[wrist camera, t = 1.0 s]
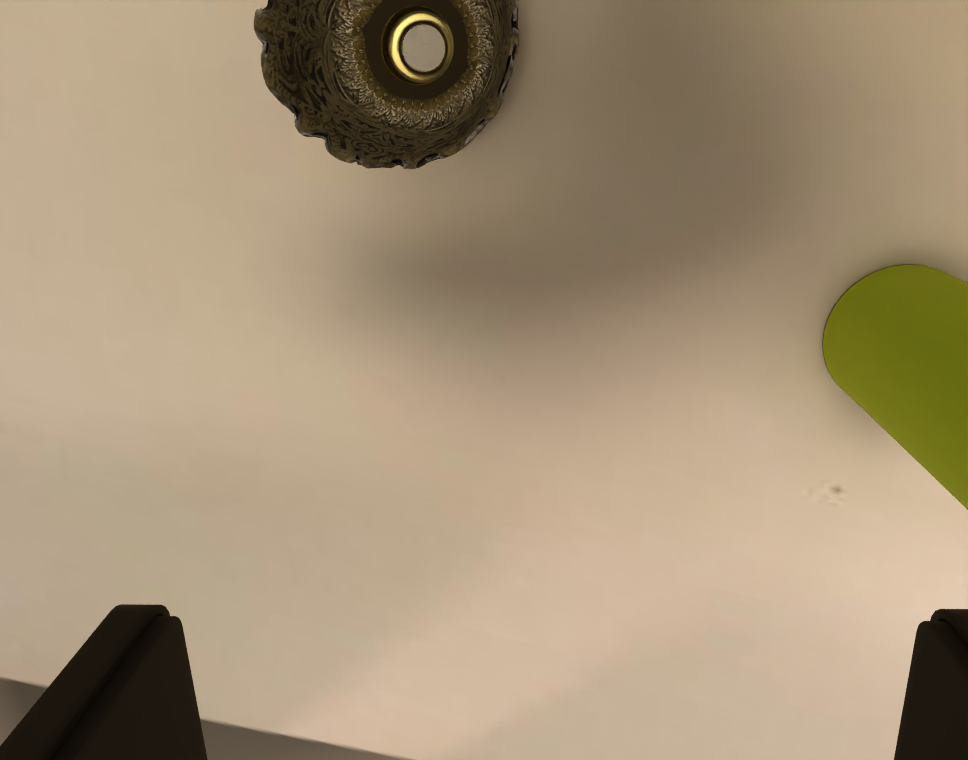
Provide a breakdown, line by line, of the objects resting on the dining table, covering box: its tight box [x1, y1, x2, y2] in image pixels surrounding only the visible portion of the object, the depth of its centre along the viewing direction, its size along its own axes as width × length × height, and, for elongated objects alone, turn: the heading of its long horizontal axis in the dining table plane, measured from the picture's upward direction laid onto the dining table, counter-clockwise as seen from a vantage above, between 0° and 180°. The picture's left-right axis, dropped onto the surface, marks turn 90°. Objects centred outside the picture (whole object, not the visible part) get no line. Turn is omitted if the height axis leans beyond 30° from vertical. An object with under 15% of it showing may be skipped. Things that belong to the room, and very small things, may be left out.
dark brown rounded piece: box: [254, 0, 519, 169], centre depth 26 cm, size 8×7×8 cm
